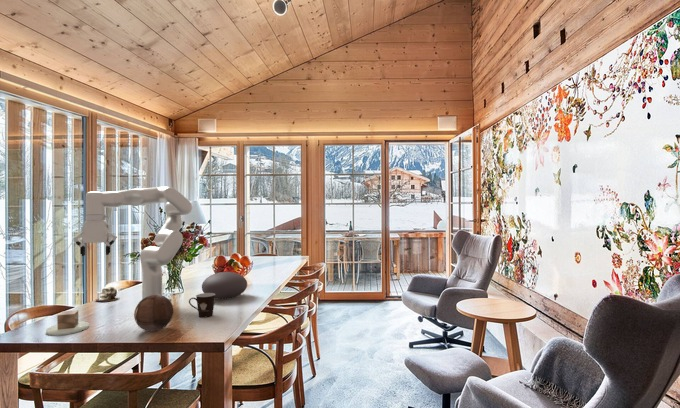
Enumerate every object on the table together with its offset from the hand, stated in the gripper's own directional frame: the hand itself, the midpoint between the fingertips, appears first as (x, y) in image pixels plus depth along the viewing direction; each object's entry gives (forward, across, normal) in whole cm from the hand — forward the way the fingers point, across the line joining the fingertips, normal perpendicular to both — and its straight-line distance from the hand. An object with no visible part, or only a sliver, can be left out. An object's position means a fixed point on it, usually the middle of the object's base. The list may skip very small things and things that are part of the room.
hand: (95, 255), depth 179 cm
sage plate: (+30, +8, +11) cm, 33 cm away
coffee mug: (+31, -47, +10) cm, 57 cm away
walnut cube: (+29, +8, +11) cm, 32 cm away
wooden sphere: (+31, -27, +26) cm, 48 cm away
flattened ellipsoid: (+31, -59, -22) cm, 70 cm away
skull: (+31, +4, -44) cm, 54 cm away
